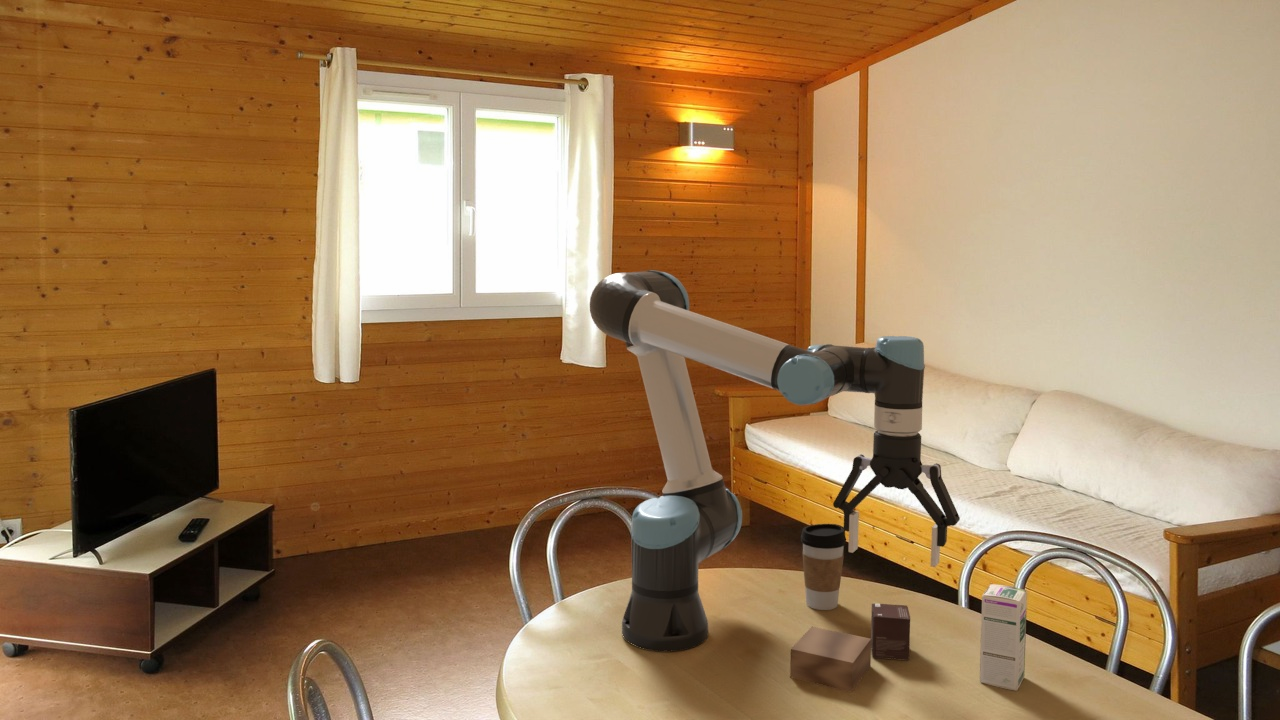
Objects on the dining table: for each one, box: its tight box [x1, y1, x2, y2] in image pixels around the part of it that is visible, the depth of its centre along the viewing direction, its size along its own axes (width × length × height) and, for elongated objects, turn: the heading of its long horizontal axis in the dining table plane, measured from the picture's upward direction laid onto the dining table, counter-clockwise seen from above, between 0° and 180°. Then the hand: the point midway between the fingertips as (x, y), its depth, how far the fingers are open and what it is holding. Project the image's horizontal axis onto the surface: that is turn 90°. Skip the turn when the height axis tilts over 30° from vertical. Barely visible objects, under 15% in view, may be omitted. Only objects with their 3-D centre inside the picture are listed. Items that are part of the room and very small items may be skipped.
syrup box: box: [979, 583, 1028, 692], centre depth 145 cm, size 6×6×14 cm
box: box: [870, 603, 911, 661], centre depth 156 cm, size 6×6×7 cm
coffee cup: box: [800, 523, 847, 611], centre depth 176 cm, size 8×8×15 cm
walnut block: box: [789, 626, 872, 693], centre depth 149 cm, size 10×10×5 cm
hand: (893, 557), depth 154 cm, fingers open, 13 cm apart
